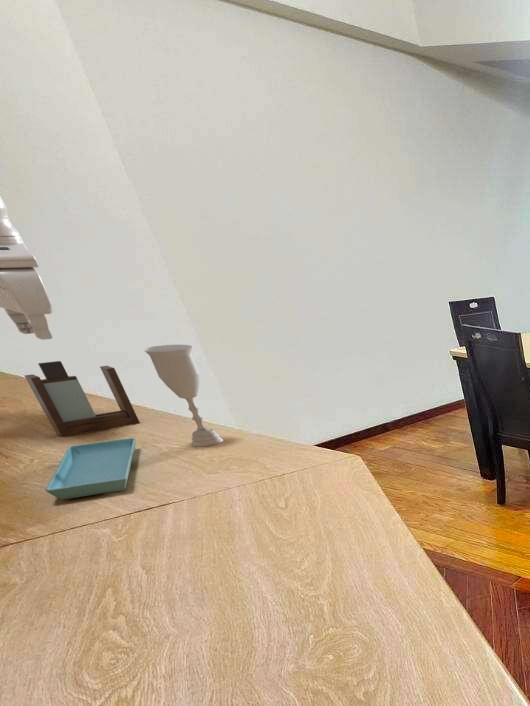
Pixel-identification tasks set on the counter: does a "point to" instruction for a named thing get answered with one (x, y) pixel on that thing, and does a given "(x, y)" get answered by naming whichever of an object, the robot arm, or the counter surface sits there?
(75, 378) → the window pane
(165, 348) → the chalice
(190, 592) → the counter surface
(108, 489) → the shallow long dish
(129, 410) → the window frame
